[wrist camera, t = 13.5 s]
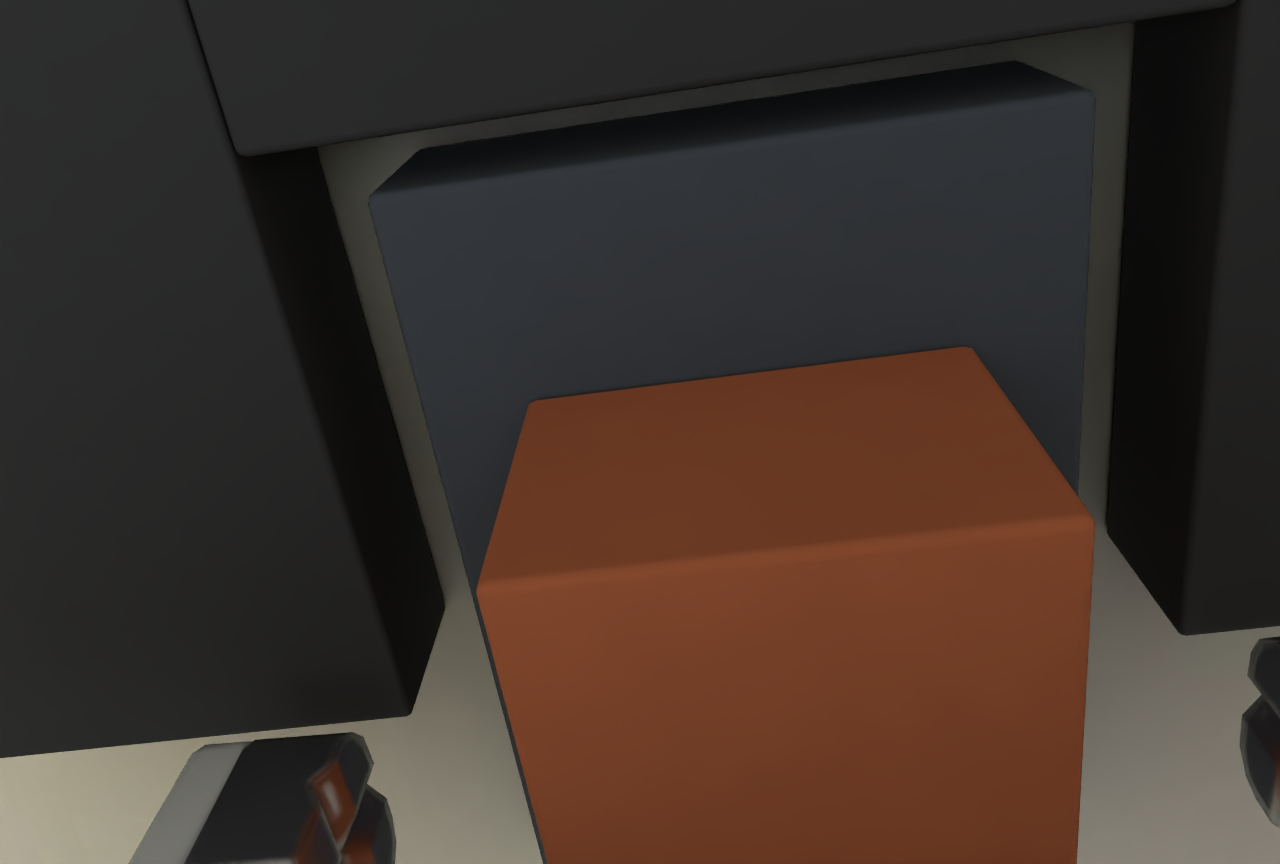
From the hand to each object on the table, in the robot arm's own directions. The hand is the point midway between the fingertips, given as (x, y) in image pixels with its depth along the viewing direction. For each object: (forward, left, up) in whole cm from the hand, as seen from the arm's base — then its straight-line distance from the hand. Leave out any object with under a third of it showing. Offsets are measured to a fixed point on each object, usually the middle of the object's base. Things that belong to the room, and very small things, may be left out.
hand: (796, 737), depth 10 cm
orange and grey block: (0, 0, -3) cm, 3 cm away
